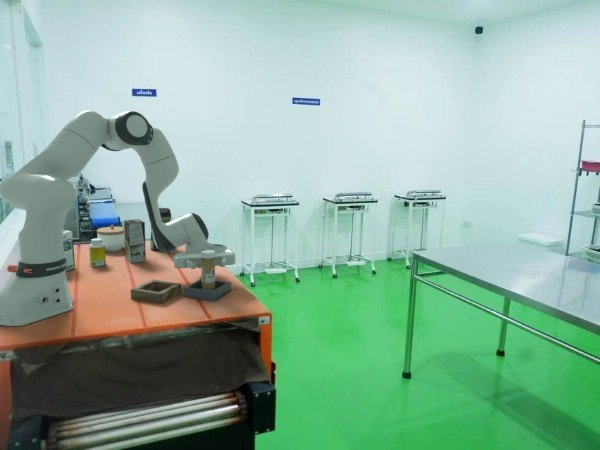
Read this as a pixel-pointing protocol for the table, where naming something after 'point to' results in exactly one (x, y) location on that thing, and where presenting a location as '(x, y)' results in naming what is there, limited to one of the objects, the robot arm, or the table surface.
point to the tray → (198, 293)
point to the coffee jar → (165, 218)
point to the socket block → (147, 293)
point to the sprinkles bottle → (208, 270)
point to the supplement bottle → (97, 252)
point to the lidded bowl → (112, 237)
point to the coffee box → (134, 240)
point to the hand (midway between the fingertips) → (208, 265)
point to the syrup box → (68, 249)
